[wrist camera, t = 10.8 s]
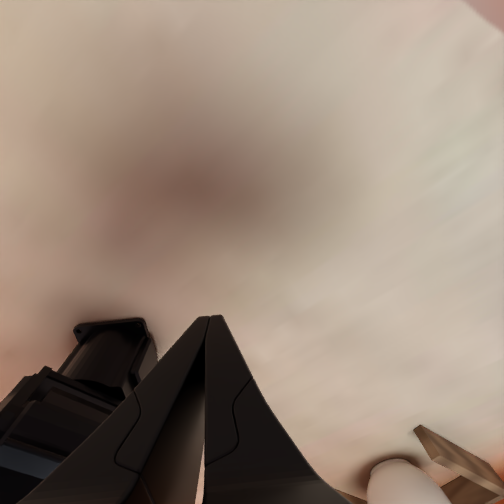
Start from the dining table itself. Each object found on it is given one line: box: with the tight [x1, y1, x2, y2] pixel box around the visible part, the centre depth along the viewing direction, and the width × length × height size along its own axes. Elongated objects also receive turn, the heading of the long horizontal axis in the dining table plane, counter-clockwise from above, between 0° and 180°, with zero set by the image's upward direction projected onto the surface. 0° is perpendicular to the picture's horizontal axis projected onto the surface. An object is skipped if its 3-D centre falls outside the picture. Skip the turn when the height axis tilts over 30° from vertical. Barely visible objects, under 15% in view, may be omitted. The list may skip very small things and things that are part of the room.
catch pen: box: [335, 425, 504, 504], centre depth 37 cm, size 17×18×4 cm
